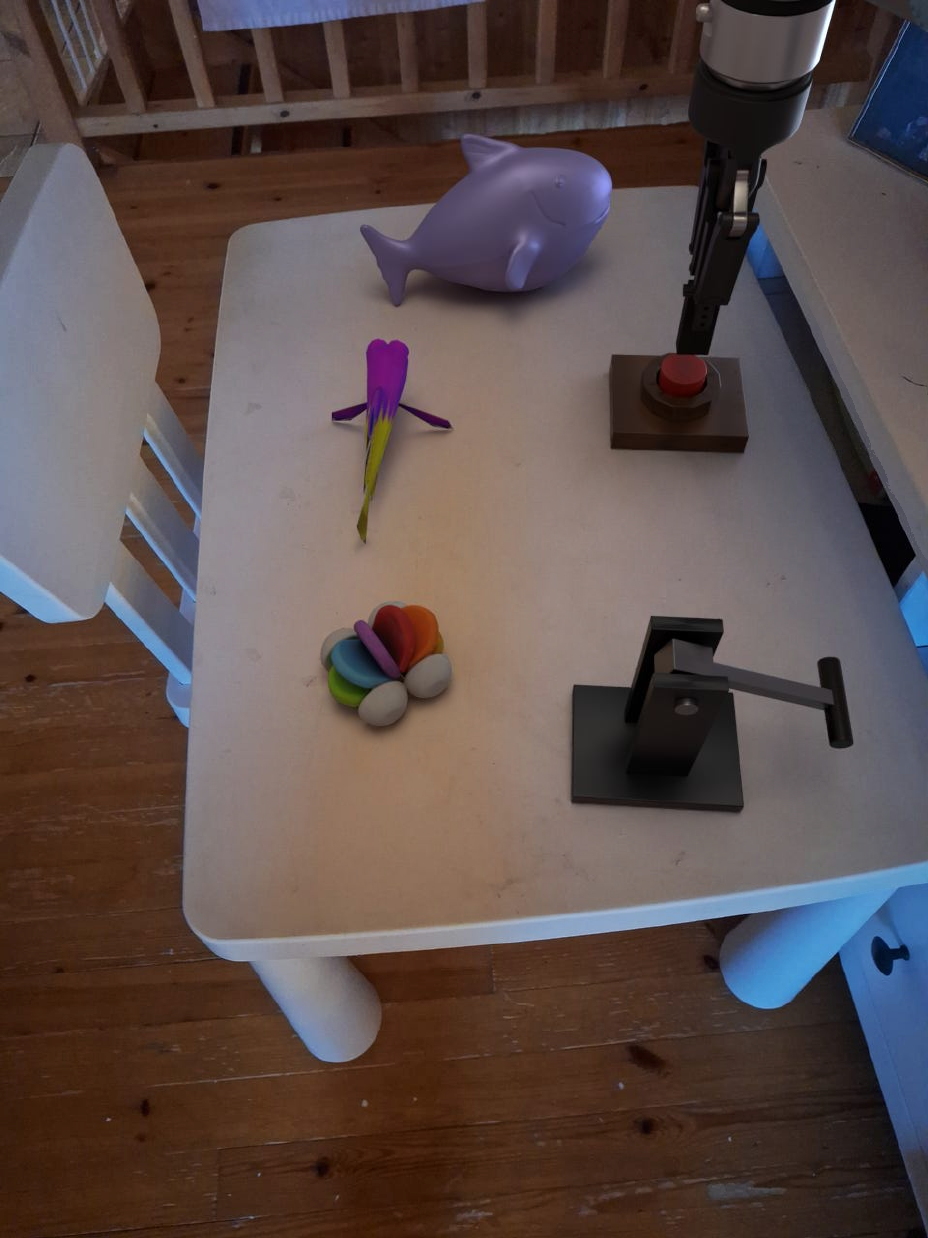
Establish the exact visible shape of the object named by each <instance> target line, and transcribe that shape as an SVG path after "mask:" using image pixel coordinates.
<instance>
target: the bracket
mask: <svg viewBox="0 0 928 1238" xmlns="http://www.w3.org/2000/svg"><path fill="white" fill-rule="evenodd" d="M724 629H725V628H724V619H723V618H713V617H712V618H711V617H710V618H709V617H691V616H689V617H687V616H669V615H668V616H665V615H650V618H649V621H648V625H647V628H646V633H645V636H644V639H643V642H642V647H641V650H640V653H639V656H638V660H637V663H636V668H635V671H634V675H633V677H632V678H633V679H632V682H631V686H613V685H591V684H573V686H572V692H571V693H572V695H571V697H572V698H571V706H572V707H571V770H570V771H571V773H570V774H571V775H570V776H571V777H570V778H571V779H570V780H571V782H570V783H571V785H570V802H571V803H572V804H586V805H587V804H588V805H601V806H602V805H603V806H619V807H621V806H622V807H638V808H656V809H671V810H673V809H674V810H687V811H688V810H691V811H705V812H706V811H707V812H722V813H723V812H724V813H741V812H742V810H743V808H744V807H745V802H744V794H743V793H744V792H743V781H742V772H741V771H742V770H741V760H740V749H739V739H738V737H739V736H738V729H737V728H738V727H737V717H736V707H735V694H734V692H732V691H730V689H729V683H728V676H710V675H690V674H669V673H655V664H654V655H655V654H656V653H657V652H658V651H659V650H660V649H661V648H662V647H663V646H665V645H666V644H667V643H668V642H669V641H670V640H671V639H673V638H674V639H678V640H683V641H687V642H691V643H695V644H699V645H703V646H707V647H711V648H712V651H713V658H714V657H715V654H716V652H717V649H718V647H719V645H720V643H721V640H722V638H723V636H724V633H725V630H724Z"/></svg>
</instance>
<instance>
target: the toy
mask: <svg viewBox="0 0 928 1238" xmlns="http://www.w3.org/2000/svg"><path fill="white" fill-rule="evenodd" d="M365 353H366V354H365V355H366V356H365V357H366V401H365V402H362V403H358V404H355V405H352V406H348V407H345V408H341V409H338V410H333V411H332V412H331V419H330V420H331V421H330V422H348V421H349V422H350V421H352V420H354V419H355V418H357V417H358V416H360V415H361V414H362V413H363V412H365V463H364V477H363V494H364V499H363V503H362V507H361V509H360V513H359V517H358V520H357V525H356V529H357V532H358V534H359V539H360V540H361V541H362V542H363V543H364V545H367V535H368V533H367V532H368V521H369V509H370V508H369V507H370V503H371V502H373V501H374V498H375V493H376V487H377V486H376V485H377V480H378V472H379V468H380V465H381V462H382V460H383V456H384V454H385V450H386V446H387V443H388V440H389V437H390V435H391V430H392V427H393V425H394V421H395V418H396V415H397V412H398V409H399V408H401V409H403V410H405V411H406V412H408V413H410V414H411V415H413V416H415V417H416V418H418V419H420V420H421V421H423V422H425V423H426V424H428V425H430V426H431V427H434V428H440V429H445V430H452V431H454V430H455V429H454V428H453V426H452V424H451V423H450V421H449V420H448V419H446V418H443V417H440V416H437V415H434V414H432V413H429V412H427V411H424V410H421V409H418V408H415V407H414V406H413V407H412V406H410V405H407V404H405V403H402V402H400V401H401V399H402V396H403V392H404V389H405V385H406V382H407V375H408V367H409V354H410V349H409V347H408V346H407V344H406V343H404V342H402V341H400V340H398V339H393V340H390V341H389V342H387V341H386V340H384V339H381V338H375V339H373V340H371V341H370V342H369V344H368V345H367V347H366V351H365Z"/></svg>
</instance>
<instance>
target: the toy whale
mask: <svg viewBox="0 0 928 1238" xmlns="http://www.w3.org/2000/svg"><path fill="white" fill-rule="evenodd" d="M460 147H461V152H462V155H463V157H464V158H465V159H464V160H466V163H467V166H468V170H469V172H468V174H467V175H465V176H464V177H463V178H462V179H460V180H459V181H457V183H456V184H454V185H453V186H452V187H451V188H450V189H449V190H448V191H447V192H446V193H445V194H444V195H443V196H442V197H440V199H439V200H438V201H437V202H436V203H435V204H434V205H433V206H432V207H431V209H430V210H428V212H427V213H426V214H425V216H424V218H423V219H422V220H421V222H420V223H419V224H418V226H417V228H416V229H415V230H414V231H413V233H412V234H411V235H410V236H409V237H408V238H407V239H403V240H400V239H395V238H391V237H388V236H386V235H384V234H382V233H381V232H380V231H378V230H377V229H376V228H374V227H372V226H371V225H369V224H361V225H360V227H359V231H360V234H361V236H362V237H363V239H364V241H365V242H366V244H367V245H368V247H369V250H370V251H371V253H372V255H373V256H374V257H375V261H376V266H377V268H378V269H379V270H380V273H381V277H382V280H384V282H385V283H386V285H387V288H388V292H389V295H390V299H391V302H392V305H394V306H396V307H397V306H400V305H401V303H402V301H403V298H404V294H405V290H406V289H405V288H406V285H407V281H408V277H409V275H410V273H411V272H412V271H416V270H417V271H422V272H425V273H428V274H430V275H432V276H435V277H437V278H439V279H442V280H445V281H448V282H451V283H456V284H460V285H466V286H470V287H473V288H478V289H480V290H483V291H490V292H501V293H504V292H505V293H518V292H527V291H529V292H530V291H534V290H537V289H540V288H543V287H545V286H548V285H550V284H552V283H554V282H555V281H557V280H559V279H560V278H561V277H562V276H563V275H565V274H566V273H567V272H569V270H571V269H572V268H573V267H574V266H575V264H577V262H578V261H579V260H580V259H581V258H582V257H583V255H584V254H585V253H586V251H587V250H588V248H589V247H590V245H591V243H592V242H593V240H594V239H595V237H596V235H598V232H600V230H601V229H602V227H603V225H604V223H605V222H606V220H607V218H608V216H609V213H610V210H611V205H610V203H611V196H612V191H613V181H612V178H611V175H610V173H609V171H608V170H607V168H606V167H605V166H604V165H603V164H602V163H601V162H600V161H599V160H597V159H595V158H594V157H592V156H590V155H589V154H587V153H583V152H581V151H579V150H578V151H577V150H573V149H568V148H559V147H521V146H519V145H518V144H516V143H513V142H510V141H505V140H499V139H495V138H491V137H486V136H482V135H478V134H475V133H464V134H463V135H462V136H461V138H460Z"/></svg>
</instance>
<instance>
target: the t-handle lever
mask: <svg viewBox="0 0 928 1238" xmlns="http://www.w3.org/2000/svg"><path fill="white" fill-rule="evenodd" d="M654 664H655V673H669V674H690V675H710V676H728V683H729V690H732V691H733V690H734V691H737V692H742V693H747V694H750V695H756V696H760V697H764V698H767V699H773V700H777V701H781V702H784V703H790V704H794V705H799V706H803V707H807V708H811V709H815V710H820V711H823V712H824V720H825V725H826V733H827V739H828V744H829V746H830V748H831V749H837V750H841V749H847V748H851V747H852V746H854V744H855V743H854V736H853V729H852V724H851V718H850V712H849V706H848V701H847V695H846V687H845V682H844V676H843V675H844V674H843V669H842V664H841V660H840V658H838V657H836V656H824V657H822V658H819V659H818V660H817V662H816V665H817V666H816V667H817V672H818V678H819V686H817V685H813V684H808V683H804V682H800V681H796V680H791V679H787V678H783V677H779V676H775V675H771V674H766V673H762V672H757V671H754V670H749V669H745V668H741V667H738V666H732V665H729V664H725V663H720V662H715V661H714V657H713V651H712V648H711V647H707V646H703V645H699V644H695V643H691V642H687V641H683V640H678V639H674V638H673V639H671V640H670V641H669V642H668V643H667V644H666V645H665V646H663V647H662V648H661V649H660V650H659V651H658V652H657V653H656V654H655V655H654Z"/></svg>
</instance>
